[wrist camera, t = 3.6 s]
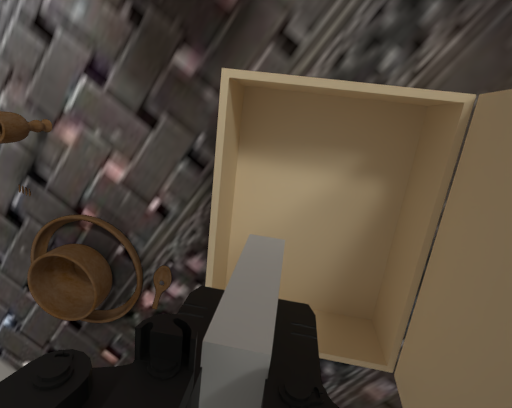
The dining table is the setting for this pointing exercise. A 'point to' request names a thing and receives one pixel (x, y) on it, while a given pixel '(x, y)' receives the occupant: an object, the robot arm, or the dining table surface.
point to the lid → (468, 280)
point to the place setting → (74, 257)
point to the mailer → (335, 197)
